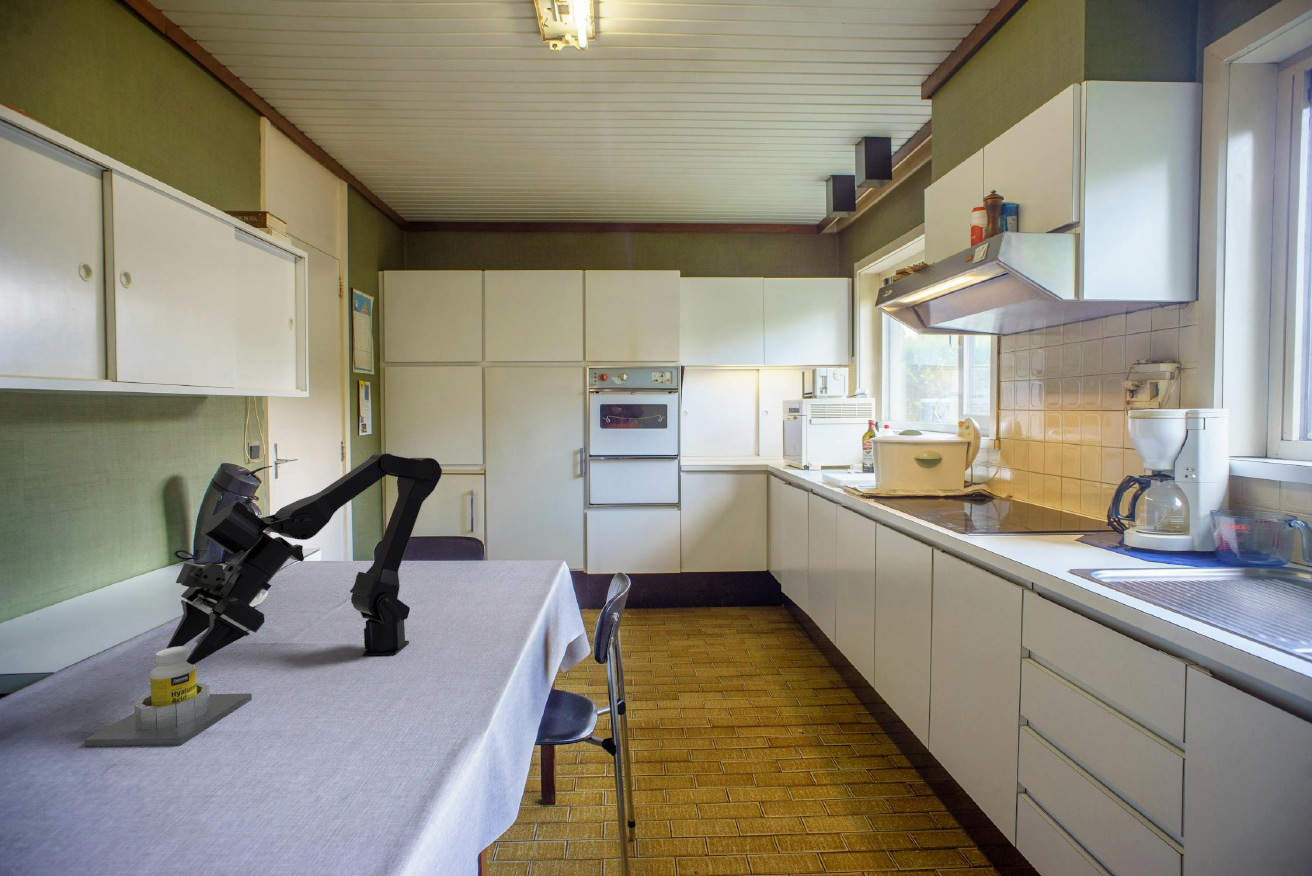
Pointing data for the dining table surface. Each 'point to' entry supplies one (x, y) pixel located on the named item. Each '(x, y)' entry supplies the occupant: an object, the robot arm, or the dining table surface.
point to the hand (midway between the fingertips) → (178, 657)
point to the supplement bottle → (172, 677)
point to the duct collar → (169, 720)
